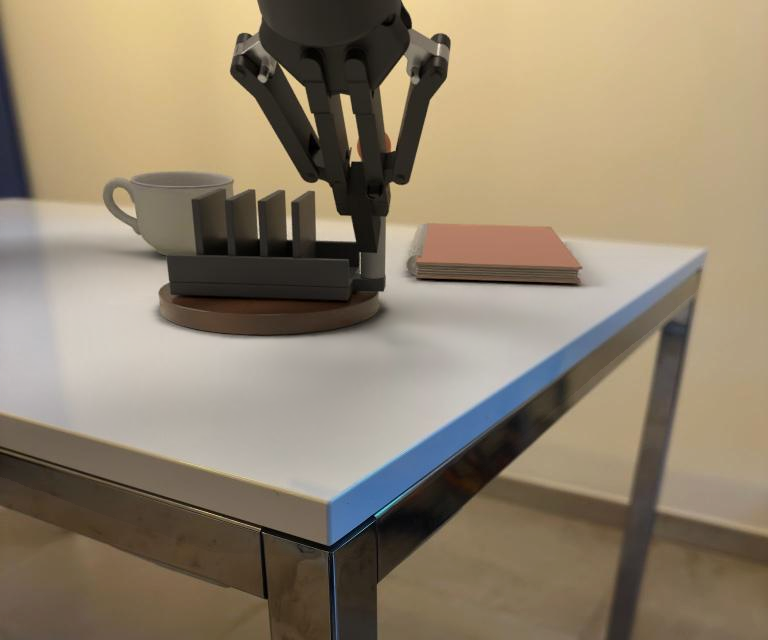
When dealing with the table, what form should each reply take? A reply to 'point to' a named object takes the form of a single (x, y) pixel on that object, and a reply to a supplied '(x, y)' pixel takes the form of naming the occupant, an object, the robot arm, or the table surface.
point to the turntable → (266, 313)
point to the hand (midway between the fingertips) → (369, 237)
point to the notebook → (491, 253)
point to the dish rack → (271, 251)
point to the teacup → (165, 206)
